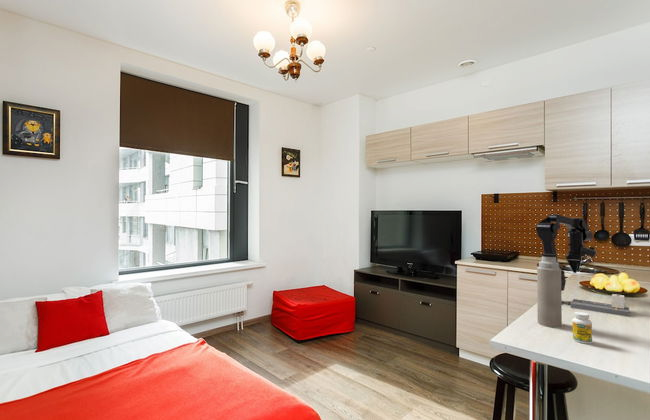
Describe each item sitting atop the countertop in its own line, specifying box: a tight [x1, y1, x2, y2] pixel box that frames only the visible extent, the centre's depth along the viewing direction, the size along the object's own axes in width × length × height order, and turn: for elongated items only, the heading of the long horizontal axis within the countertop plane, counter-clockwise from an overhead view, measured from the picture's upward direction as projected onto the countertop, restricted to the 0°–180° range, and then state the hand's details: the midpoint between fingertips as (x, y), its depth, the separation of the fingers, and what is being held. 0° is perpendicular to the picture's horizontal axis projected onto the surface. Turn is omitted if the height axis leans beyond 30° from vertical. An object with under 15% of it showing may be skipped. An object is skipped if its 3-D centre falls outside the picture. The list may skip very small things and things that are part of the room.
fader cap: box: [611, 293, 625, 309], centre depth 148 cm, size 4×4×5 cm
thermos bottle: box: [536, 253, 563, 329], centre depth 133 cm, size 8×8×28 cm
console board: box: [569, 298, 630, 317], centre depth 152 cm, size 20×10×2 cm, turn 46°
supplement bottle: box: [571, 311, 593, 345], centre depth 116 cm, size 5×5×10 cm
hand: (576, 271), depth 174 cm, fingers open, 9 cm apart
